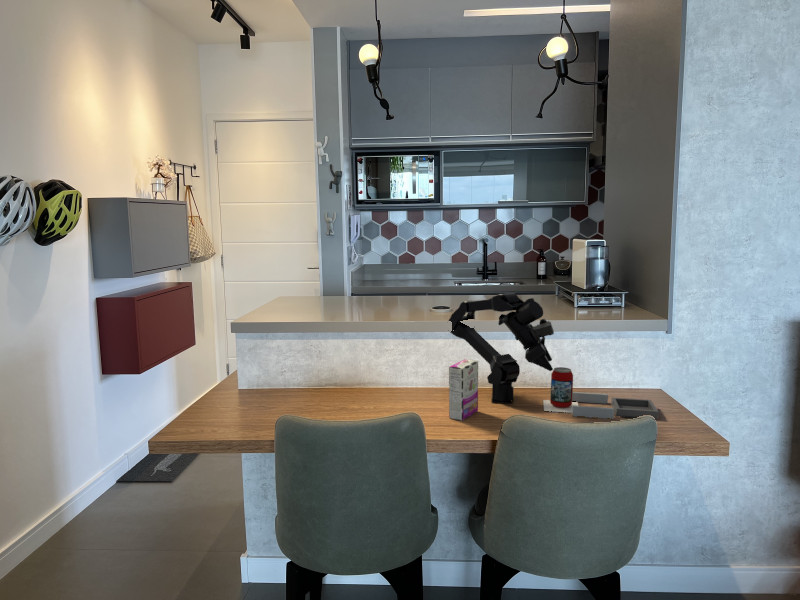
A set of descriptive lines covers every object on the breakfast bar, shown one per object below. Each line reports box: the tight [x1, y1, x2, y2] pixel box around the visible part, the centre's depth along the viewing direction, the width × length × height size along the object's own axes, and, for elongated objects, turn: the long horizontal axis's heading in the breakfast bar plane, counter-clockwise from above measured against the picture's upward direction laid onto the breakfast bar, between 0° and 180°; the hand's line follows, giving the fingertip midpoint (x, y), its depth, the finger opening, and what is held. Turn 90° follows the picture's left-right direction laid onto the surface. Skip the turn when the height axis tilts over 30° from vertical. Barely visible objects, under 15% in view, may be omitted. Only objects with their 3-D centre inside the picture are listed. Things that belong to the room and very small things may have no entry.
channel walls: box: [572, 391, 615, 420], centre depth 193 cm, size 12×16×3 cm
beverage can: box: [549, 366, 574, 408], centre depth 195 cm, size 7×7×12 cm
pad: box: [542, 399, 580, 414], centre depth 195 cm, size 11×11×1 cm
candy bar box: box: [448, 358, 479, 422], centre depth 187 cm, size 11×5×16 cm, turn 148°
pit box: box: [610, 397, 659, 420], centre depth 191 cm, size 12×12×2 cm
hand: (551, 365), depth 195 cm, fingers open, 9 cm apart
